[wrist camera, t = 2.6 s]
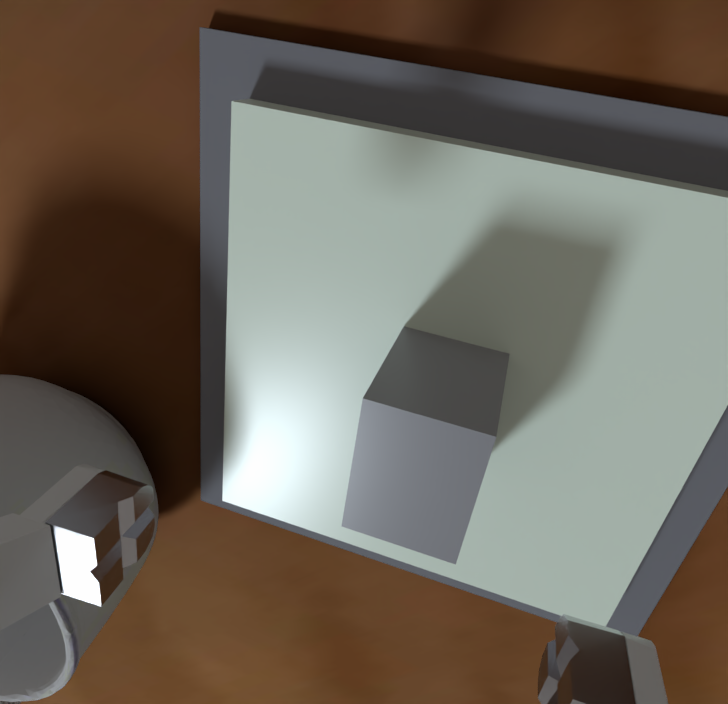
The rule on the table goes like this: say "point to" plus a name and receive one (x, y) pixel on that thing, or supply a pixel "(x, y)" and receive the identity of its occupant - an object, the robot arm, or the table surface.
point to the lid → (468, 350)
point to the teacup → (27, 484)
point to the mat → (466, 122)
